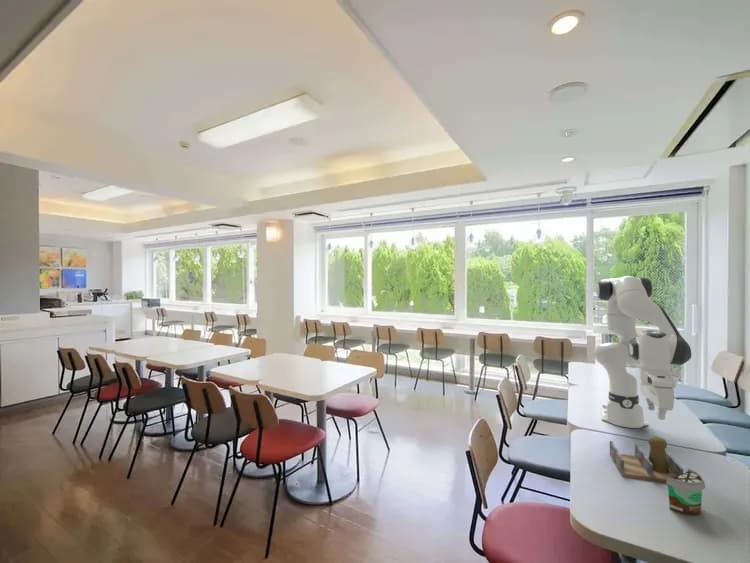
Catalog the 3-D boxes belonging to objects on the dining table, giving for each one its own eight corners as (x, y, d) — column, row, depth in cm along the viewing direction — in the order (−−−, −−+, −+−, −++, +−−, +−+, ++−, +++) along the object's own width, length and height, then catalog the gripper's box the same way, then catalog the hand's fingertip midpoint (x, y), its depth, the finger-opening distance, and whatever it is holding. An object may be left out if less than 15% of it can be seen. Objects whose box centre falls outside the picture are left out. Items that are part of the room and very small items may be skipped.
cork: (673, 473, 121) (672, 442, 121) (653, 472, 122) (652, 440, 122) (662, 465, 126) (662, 434, 127) (644, 463, 128) (643, 433, 128)
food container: (692, 523, 98) (691, 487, 98) (667, 510, 103) (666, 476, 103) (715, 511, 102) (714, 477, 103) (689, 499, 108) (688, 467, 108)
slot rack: (609, 455, 137) (609, 440, 137) (664, 462, 130) (663, 447, 130) (621, 476, 122) (621, 459, 122) (683, 486, 115) (683, 468, 115)
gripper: (635, 368, 136) (635, 403, 136) (654, 382, 117) (655, 423, 117) (654, 369, 133) (655, 405, 133) (678, 384, 114) (679, 426, 114)
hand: (655, 414), depth 125 cm, fingers open, 8 cm apart
